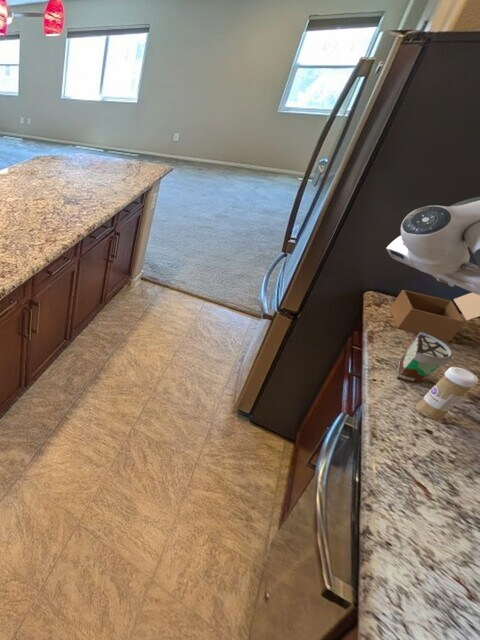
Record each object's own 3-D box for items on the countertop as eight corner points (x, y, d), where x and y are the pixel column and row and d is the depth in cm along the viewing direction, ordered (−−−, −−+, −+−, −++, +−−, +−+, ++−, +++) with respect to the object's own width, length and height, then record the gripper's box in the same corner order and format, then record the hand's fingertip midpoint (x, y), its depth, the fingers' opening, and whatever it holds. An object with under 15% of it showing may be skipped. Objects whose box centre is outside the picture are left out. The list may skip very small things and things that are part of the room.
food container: (429, 395, 97) (454, 367, 92) (395, 381, 101) (418, 353, 96) (431, 369, 104) (454, 342, 99) (399, 357, 108) (420, 330, 103)
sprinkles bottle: (409, 403, 95) (443, 364, 88) (431, 406, 94) (467, 367, 87) (425, 419, 91) (461, 380, 84) (447, 422, 90) (486, 383, 83)
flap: (453, 299, 117) (454, 299, 117) (466, 320, 109) (467, 321, 108) (477, 290, 113) (478, 291, 113) (493, 311, 105) (494, 312, 105)
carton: (437, 319, 121) (452, 301, 117) (449, 342, 113) (465, 322, 109) (389, 307, 127) (402, 289, 123) (397, 328, 118) (411, 309, 114)
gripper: (514, 267, 81) (519, 296, 87) (400, 227, 98) (411, 253, 104) (484, 288, 82) (491, 315, 89) (378, 245, 100) (390, 270, 106)
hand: (447, 281), depth 97 cm, fingers closed
